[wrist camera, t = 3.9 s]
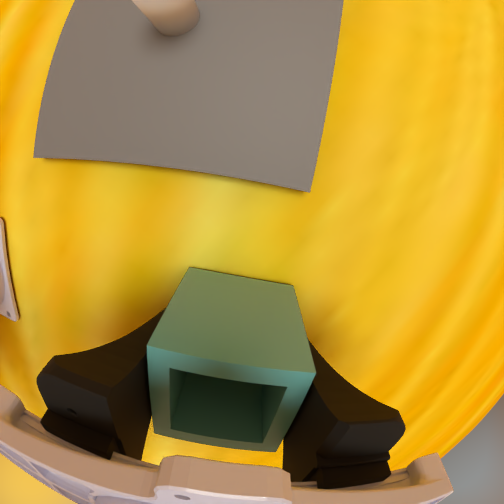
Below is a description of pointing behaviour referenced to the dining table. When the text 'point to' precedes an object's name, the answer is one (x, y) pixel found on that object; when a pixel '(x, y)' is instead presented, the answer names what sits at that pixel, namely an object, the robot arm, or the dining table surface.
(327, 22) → the stub board
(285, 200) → the dining table surface
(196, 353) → the sleeve
